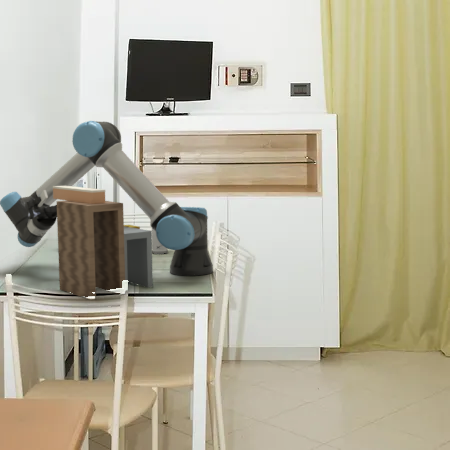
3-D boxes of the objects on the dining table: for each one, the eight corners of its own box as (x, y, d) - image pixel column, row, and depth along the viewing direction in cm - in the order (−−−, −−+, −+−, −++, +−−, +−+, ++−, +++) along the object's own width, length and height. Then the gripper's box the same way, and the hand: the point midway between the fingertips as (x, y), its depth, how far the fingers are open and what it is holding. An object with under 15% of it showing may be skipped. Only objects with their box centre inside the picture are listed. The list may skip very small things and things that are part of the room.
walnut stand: (59, 289, 239) (56, 201, 236) (93, 284, 247) (90, 198, 243) (90, 299, 224) (87, 205, 220) (125, 294, 231) (123, 203, 228)
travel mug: (160, 254, 305) (159, 205, 303) (149, 253, 310) (148, 204, 307) (171, 252, 310) (170, 204, 308) (160, 251, 314) (159, 203, 312)
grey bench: (94, 282, 249) (92, 228, 247) (123, 278, 256) (122, 225, 254) (123, 291, 235) (121, 234, 233) (152, 286, 242) (151, 231, 240)
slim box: (53, 198, 246) (52, 186, 246) (65, 197, 249) (65, 185, 248) (92, 203, 226) (91, 190, 225) (105, 202, 229) (105, 189, 228)
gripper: (77, 227, 265) (102, 200, 250) (9, 234, 250) (31, 205, 234) (72, 208, 267) (96, 180, 252) (4, 213, 252) (25, 184, 236)
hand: (65, 192), depth 243 cm, fingers open, 13 cm apart
